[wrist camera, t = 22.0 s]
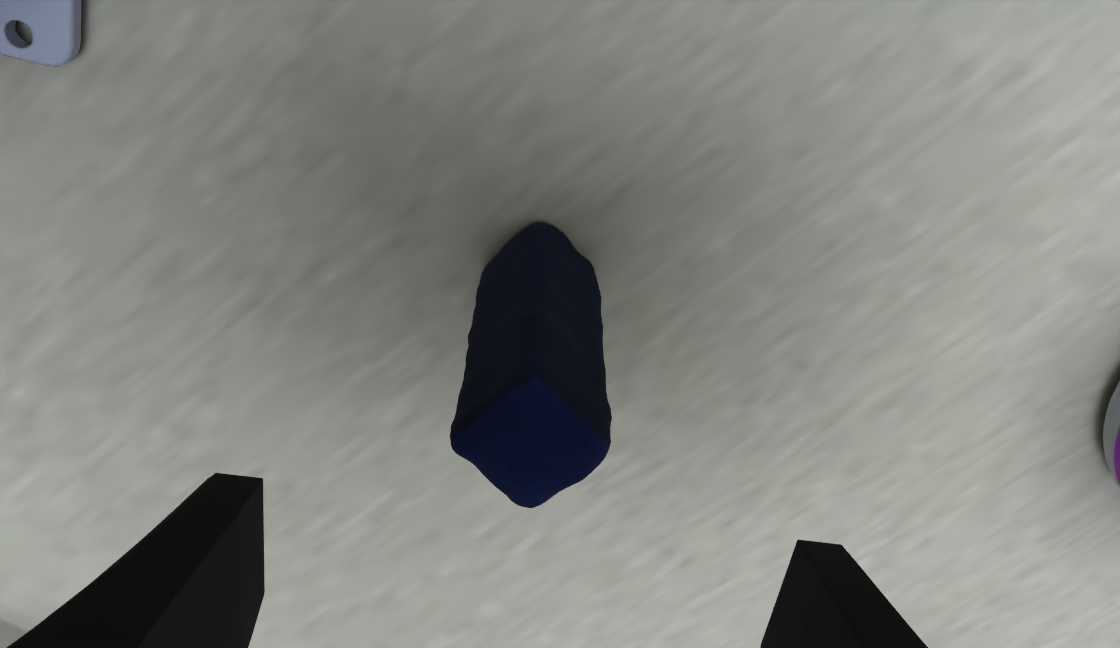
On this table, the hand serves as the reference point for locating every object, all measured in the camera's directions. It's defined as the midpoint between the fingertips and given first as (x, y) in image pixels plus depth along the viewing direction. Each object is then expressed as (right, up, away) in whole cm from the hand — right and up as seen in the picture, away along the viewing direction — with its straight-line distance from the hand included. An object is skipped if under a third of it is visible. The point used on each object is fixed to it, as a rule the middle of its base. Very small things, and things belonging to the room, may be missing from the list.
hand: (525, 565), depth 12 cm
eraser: (0, +5, +8) cm, 10 cm away
